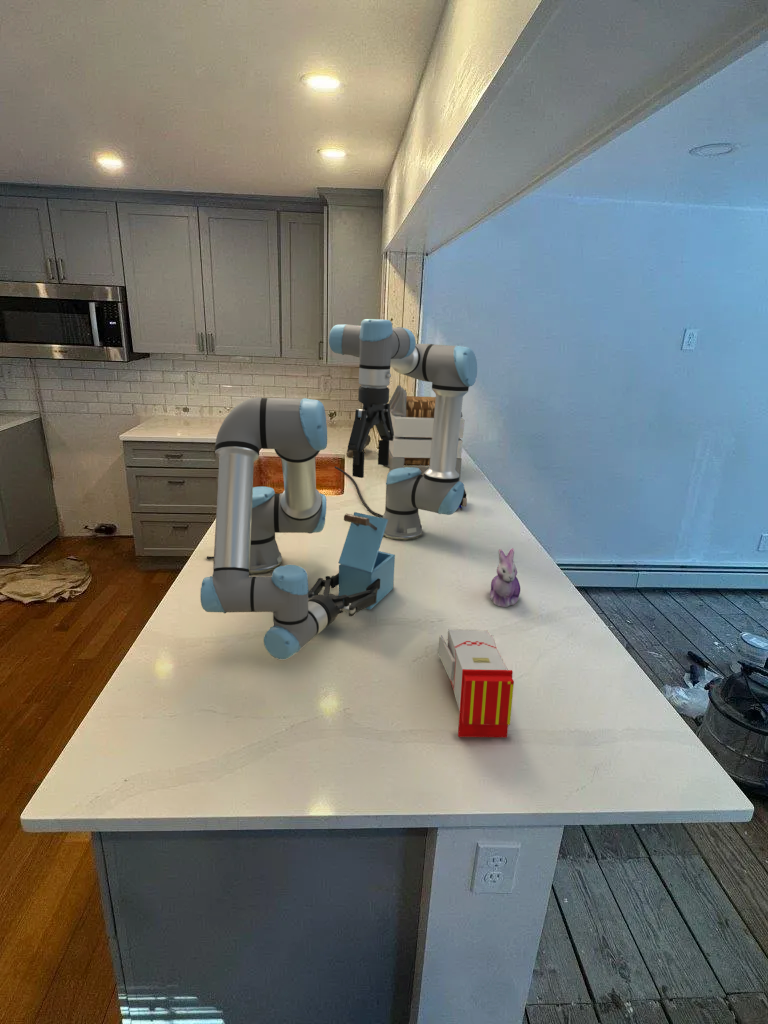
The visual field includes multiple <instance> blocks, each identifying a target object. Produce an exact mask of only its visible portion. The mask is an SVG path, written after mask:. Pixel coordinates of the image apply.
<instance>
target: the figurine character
mask: <svg viewBox="0 0 768 1024" xmlns="http://www.w3.org/2000/svg"><path fill="white" fill-rule="evenodd" d="M467 503H468V498H467V492H466V489H465V488H464V494H463V498H462V501H461V503H460V505H459V507H458V509H460V511H463V507H464V508H465V507H467Z"/></svg>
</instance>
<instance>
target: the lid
mask: <svg viewBox="0 0 768 1024" xmlns="http://www.w3.org/2000/svg"><path fill="white" fill-rule="evenodd" d="M343 521H344V522H348V523H350V525H349V528H348V531H347V534H346V537H345V541H344V544H343V547H342V550H341V552H340V556H339V559H338V565H340V564H342V565H346V566H350V567H354V568H357V569H361V570H365V571H369V572H372V571H373V568H374V565H375V562H376V558H377V555H378V552H379V551H380V548H381V544H382V541H383V538H384V536H383V535H384V532H385V528H386V525H387V522H388V520H387V519H384V518H382V517H379V516H376V515H370V514H366V513H361V512H356V511H354V512H353V514H352V513H351V514H350V513H345V514H344V516H343Z"/></svg>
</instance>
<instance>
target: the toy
mask: <svg viewBox="0 0 768 1024" xmlns="http://www.w3.org/2000/svg"><path fill="white" fill-rule="evenodd" d="M446 640H447V643H446V641H445V639H444V636H443V635H442V634H439V637H438V646H437V656H438V657H439V659H440V661H441V663H442V666H443V668H444V670H445V672H446V674H447V677H448V679H449V681H450V684H451V687H452V690H453V693H454V697H455V701H456V705H457V708H458V711H459V714H458V715H459V716H458V730H457V731H458V732H457V737H458V738H508V731H509V726H510V725H511V717H512V707H513V697H514V696H513V695H514V684H515V680H514V679H513V673H514V671H513V670H512V669H508V667H507V665H506V662H505V661H504V659H503V658H502V655H501V653H500V651H499V649H498V647H497V643H496V639H495V637H494V635H493V634H491V632H490V631H489V629H467V628H466V629H465V628H463V629H461V628H460V629H459V628H448V630H447V639H446Z"/></svg>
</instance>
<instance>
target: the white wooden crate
mask: <svg viewBox="0 0 768 1024" xmlns="http://www.w3.org/2000/svg"><path fill="white" fill-rule="evenodd" d="M407 394H408V393H407V390H406V389H404V388H403V387H402V385H399V384H398V385H397V386H396V388H395V390H394V392H393V394H392V395H391V398H390V399H389V402H388V403H389V404H390V415H391V421H392V426H393V431H394V436H393V441H389V460H388V466H386V467H388V468H389V472H390V471H391V470H393V469H397V468H405V466H406V467H409V466H411V467H417V466H418V467H429V466H430V455H431V444H432V433H433V422H434V411H435V399H436V396H415V395H414V396H413V395H412V396H411V395H407ZM464 429H465V419H464V418H463V411H461V420H460V429H459V439H458V449H457V458H456V468H455V470H456V471H457V473H458V474H459V481H460V482H461V472H462V461H463V460H462V453H463V442H464V441H463V440H462V439H463V438H464V431H465V430H464ZM389 432H390V431H389Z"/></svg>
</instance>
